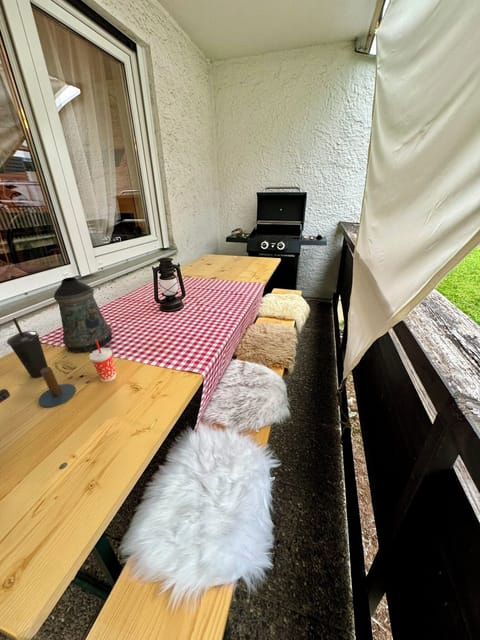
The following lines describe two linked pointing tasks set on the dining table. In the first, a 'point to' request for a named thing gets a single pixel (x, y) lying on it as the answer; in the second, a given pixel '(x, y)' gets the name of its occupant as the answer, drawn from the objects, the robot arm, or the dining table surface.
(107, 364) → the beverage cup
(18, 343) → the drinking cup
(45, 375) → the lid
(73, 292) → the beer stein
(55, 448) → the dining table surface
